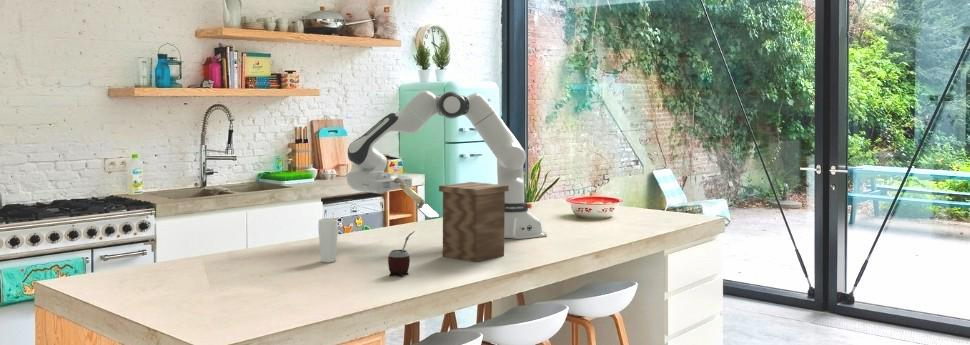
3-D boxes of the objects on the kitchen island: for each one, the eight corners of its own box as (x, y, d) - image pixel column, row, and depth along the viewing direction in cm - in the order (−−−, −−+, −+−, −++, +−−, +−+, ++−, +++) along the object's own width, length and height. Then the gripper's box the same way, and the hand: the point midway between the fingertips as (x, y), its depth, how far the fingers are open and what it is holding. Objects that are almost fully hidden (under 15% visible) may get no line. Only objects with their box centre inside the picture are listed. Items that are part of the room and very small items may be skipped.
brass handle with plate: (389, 183, 341) (392, 177, 340) (400, 182, 346) (403, 176, 345) (428, 219, 329) (431, 213, 328) (439, 217, 334) (442, 211, 333)
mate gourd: (385, 273, 289) (385, 228, 288) (408, 272, 292) (408, 227, 290) (391, 278, 282) (391, 232, 281) (415, 276, 285) (415, 231, 283)
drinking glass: (340, 259, 311) (340, 218, 310) (335, 263, 305) (334, 221, 303) (321, 259, 312) (321, 217, 311) (316, 263, 305) (315, 220, 304)
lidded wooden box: (438, 256, 319) (438, 185, 317) (470, 249, 333) (470, 181, 330) (476, 262, 308) (477, 189, 305) (507, 255, 322) (508, 185, 319)
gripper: (359, 176, 341) (384, 178, 332) (396, 172, 357) (421, 175, 348) (359, 192, 341) (384, 195, 333) (396, 188, 357) (421, 190, 349)
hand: (403, 185), depth 340 cm, fingers closed on brass handle with plate, 3 cm apart
